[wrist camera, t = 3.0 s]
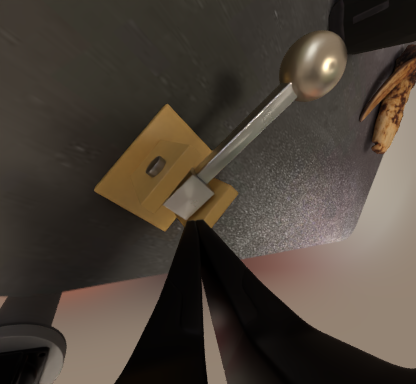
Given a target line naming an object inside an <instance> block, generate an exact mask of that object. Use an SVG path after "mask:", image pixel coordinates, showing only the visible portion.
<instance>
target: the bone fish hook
mask: <svg viewBox="0 0 416 384" xmlns="http://www.w3.org/2000/svg"><path fill="white" fill-rule="evenodd" d="M415 83H416V45H413V44H412V45H408V46H407V48H406V50H405V51H404V52H403V53H402V55H401V56H400V57H399V58H397V59H396V65H395V68H394V73H393V74H392V75H391V76H390V77H389V78H388V79H387V80H386V81H385V82H384V83H383V85H382V86H381V87H380V88H379V89H378V90H377V92H376V93H375V94H374V96H373V97H372V98H371V100H370V101H369V102H368V104H367V105H366V107H365V108H364V110H363V112H362V114H361V116H360V122H361V121H363V120H364V119H365V117H366V116H367V115H368V114H369V113H370V112H371V111H372V110H373V109H374V108H375V106H376V105H377V104H378V103H379V102H380V101H381V100H382V99H383V98H384V99H383V100H382V103H381V107H380V110H379V114H378V117H377V119H376V123H375V128H374V134H373V138H372V142H373V143H375V145H374V146H372V150H373V151H374V152H376V153H377V154H384V153H385V152H386V150H387V149H388V148H389V147H390V145H391V143H392V140H393V138H394V136H395V134H396V132H397V131H398V128H399V126H400V122H401V120H402V117H403V110H404V106H405V104H406V102H407V101H408V98H409V94H410V90H411V89H412V88H413V86H414V85H415Z"/></svg>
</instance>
